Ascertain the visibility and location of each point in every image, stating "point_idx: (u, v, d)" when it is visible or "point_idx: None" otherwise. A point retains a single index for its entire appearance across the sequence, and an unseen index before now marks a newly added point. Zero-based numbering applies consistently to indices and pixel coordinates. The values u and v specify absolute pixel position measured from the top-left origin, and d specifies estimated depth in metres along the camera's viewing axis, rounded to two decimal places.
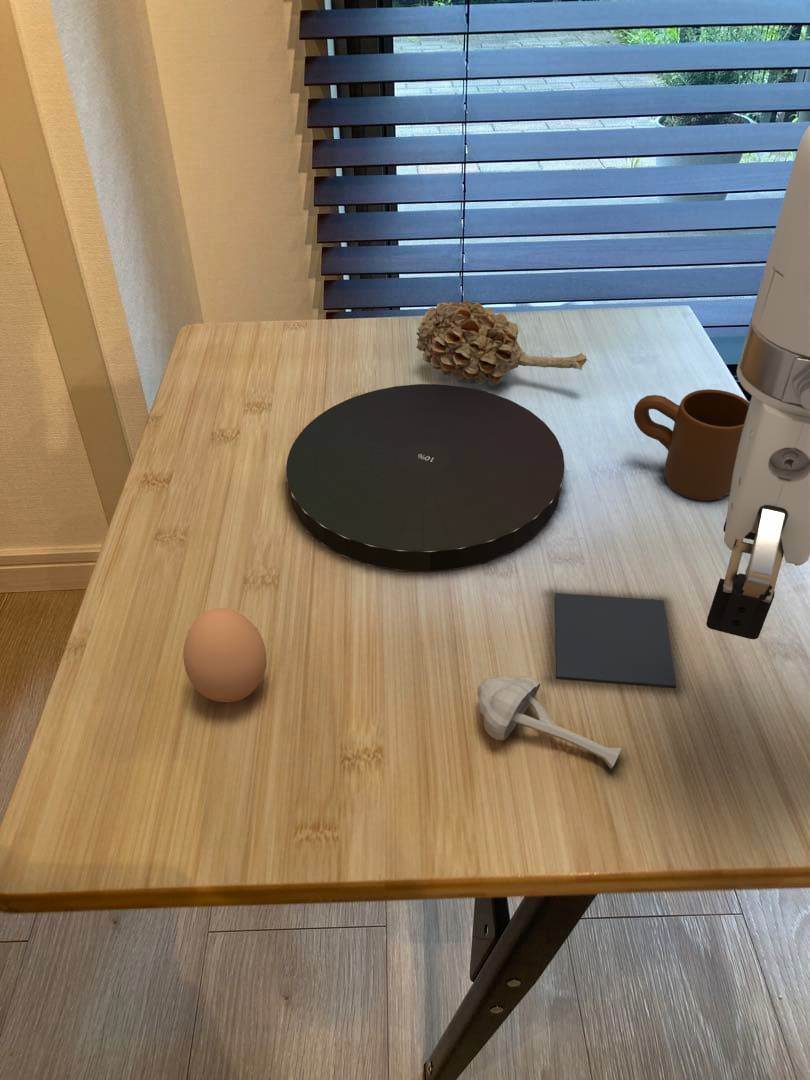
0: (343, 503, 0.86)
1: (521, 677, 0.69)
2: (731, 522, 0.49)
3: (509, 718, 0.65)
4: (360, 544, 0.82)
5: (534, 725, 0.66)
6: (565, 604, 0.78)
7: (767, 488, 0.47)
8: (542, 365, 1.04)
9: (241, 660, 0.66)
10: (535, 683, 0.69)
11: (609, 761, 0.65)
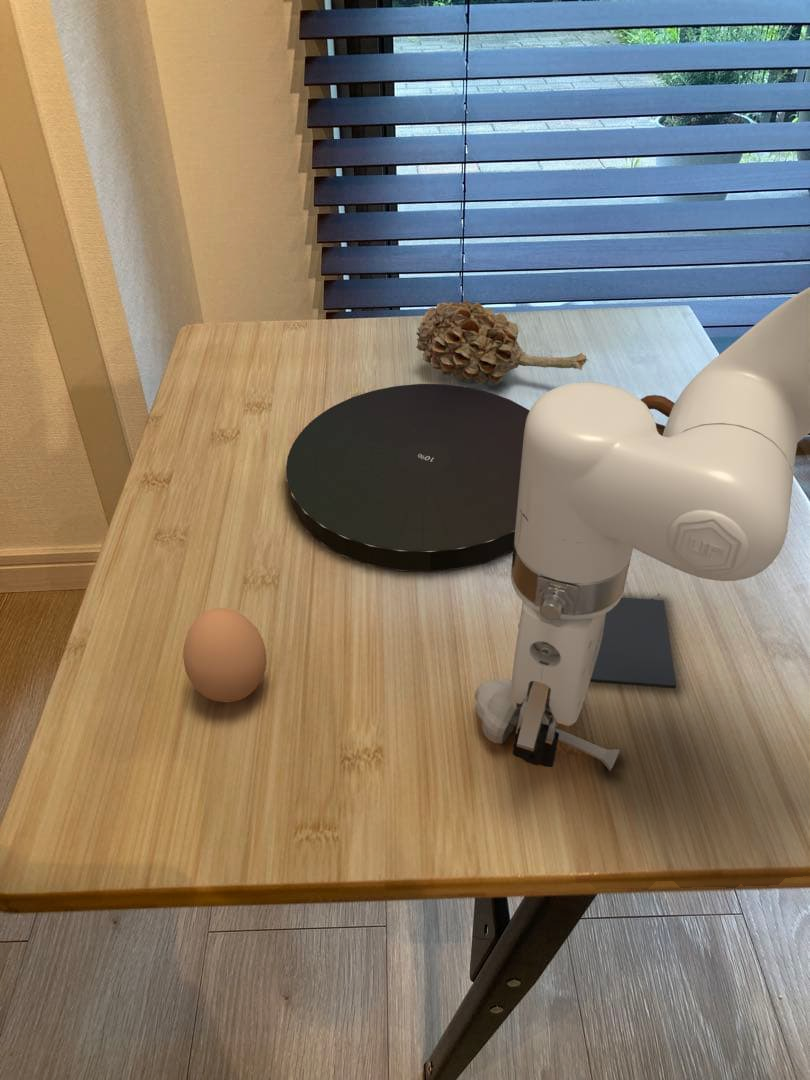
0: (343, 503, 0.86)
1: None
2: (512, 689, 0.59)
3: (507, 721, 0.65)
4: (360, 544, 0.82)
5: None
6: None
7: (532, 669, 0.56)
8: (542, 365, 1.04)
9: (241, 660, 0.66)
10: None
11: (608, 763, 0.65)
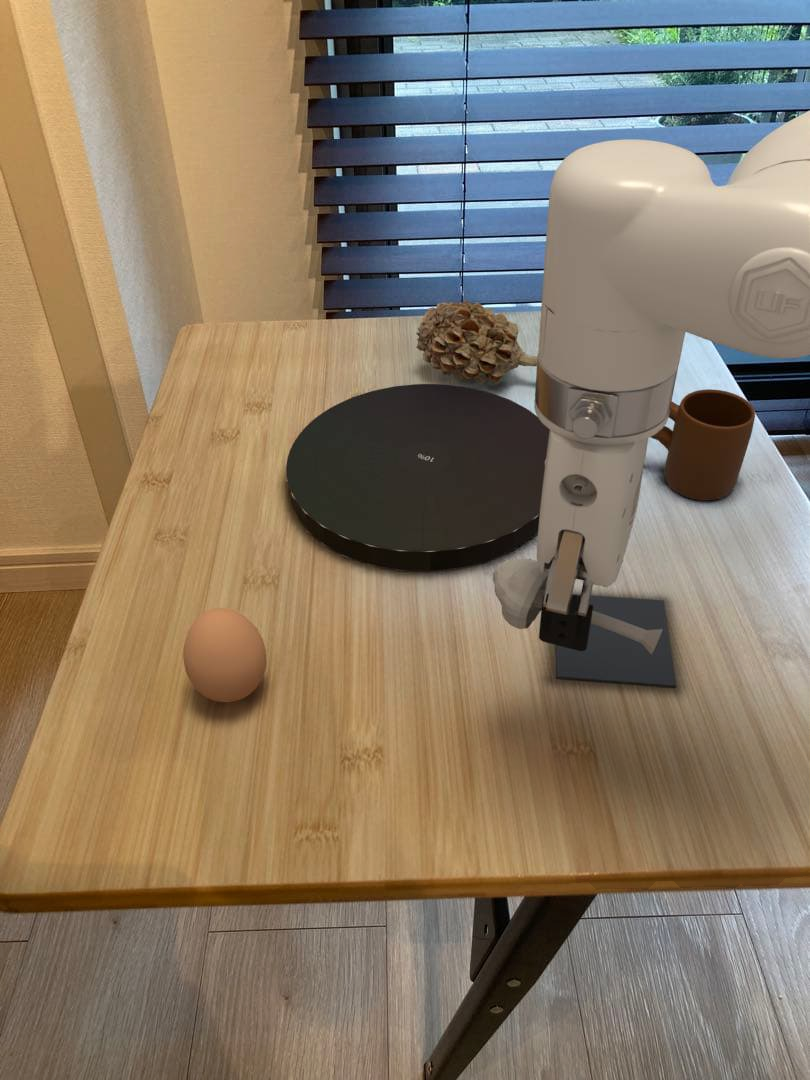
0: (343, 503, 0.86)
1: None
2: (538, 546, 0.50)
3: (532, 599, 0.56)
4: (360, 544, 0.82)
5: None
6: None
7: (562, 513, 0.48)
8: None
9: (241, 660, 0.66)
10: None
11: (649, 644, 0.56)
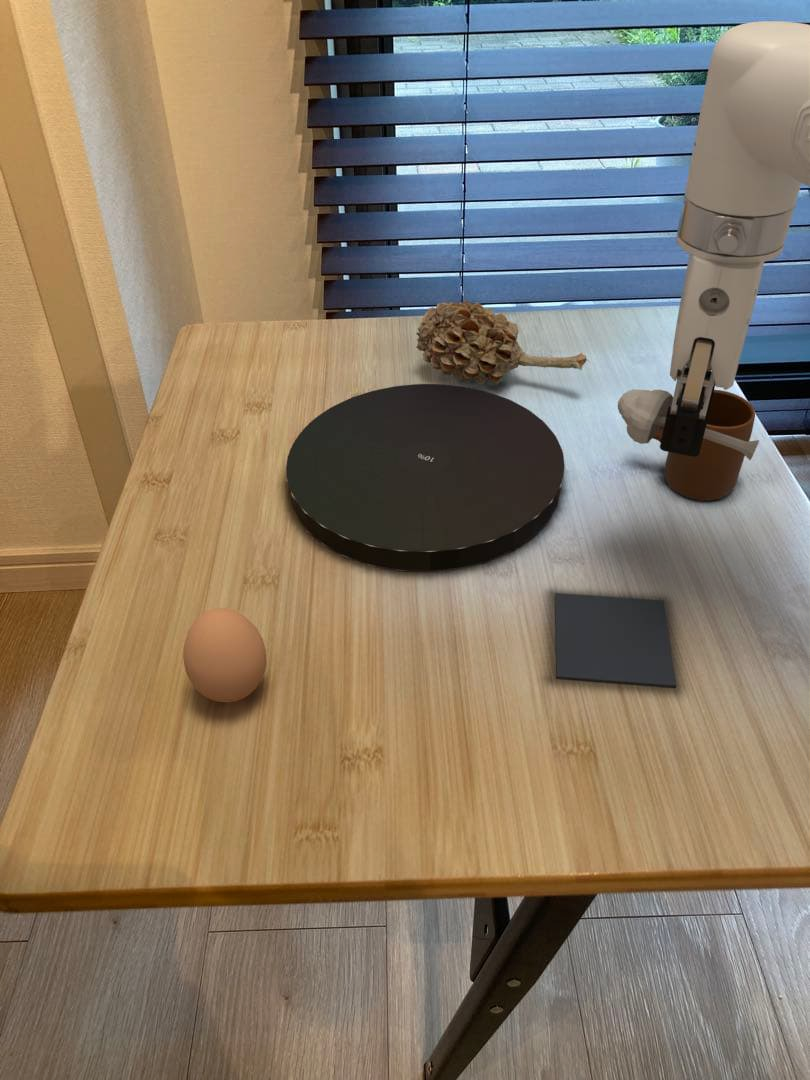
0: (343, 503, 0.86)
1: None
2: (674, 356, 0.64)
3: (655, 413, 0.70)
4: (360, 544, 0.82)
5: None
6: (565, 604, 0.78)
7: (698, 323, 0.62)
8: (542, 365, 1.04)
9: (241, 660, 0.66)
10: (671, 396, 0.74)
11: (749, 450, 0.70)
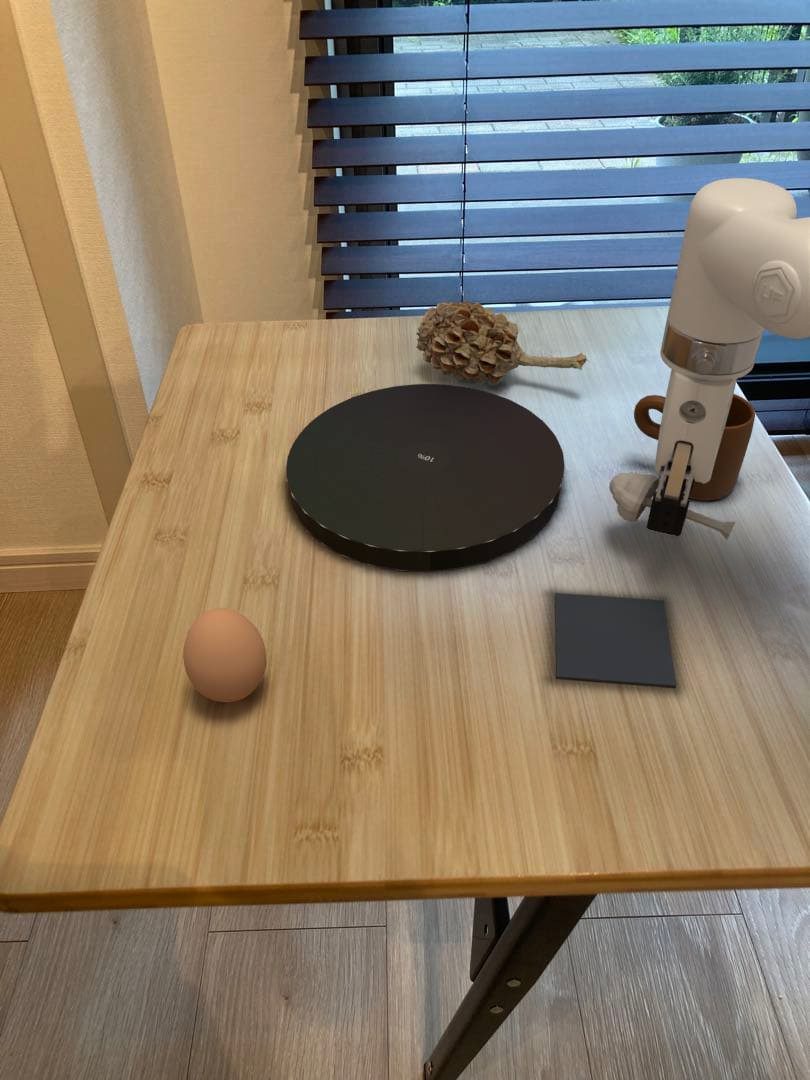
0: (343, 503, 0.86)
1: None
2: (658, 454, 0.72)
3: (642, 497, 0.78)
4: (360, 544, 0.82)
5: None
6: (565, 604, 0.78)
7: (679, 428, 0.70)
8: (542, 365, 1.04)
9: (241, 660, 0.66)
10: (657, 478, 0.82)
11: (726, 531, 0.78)
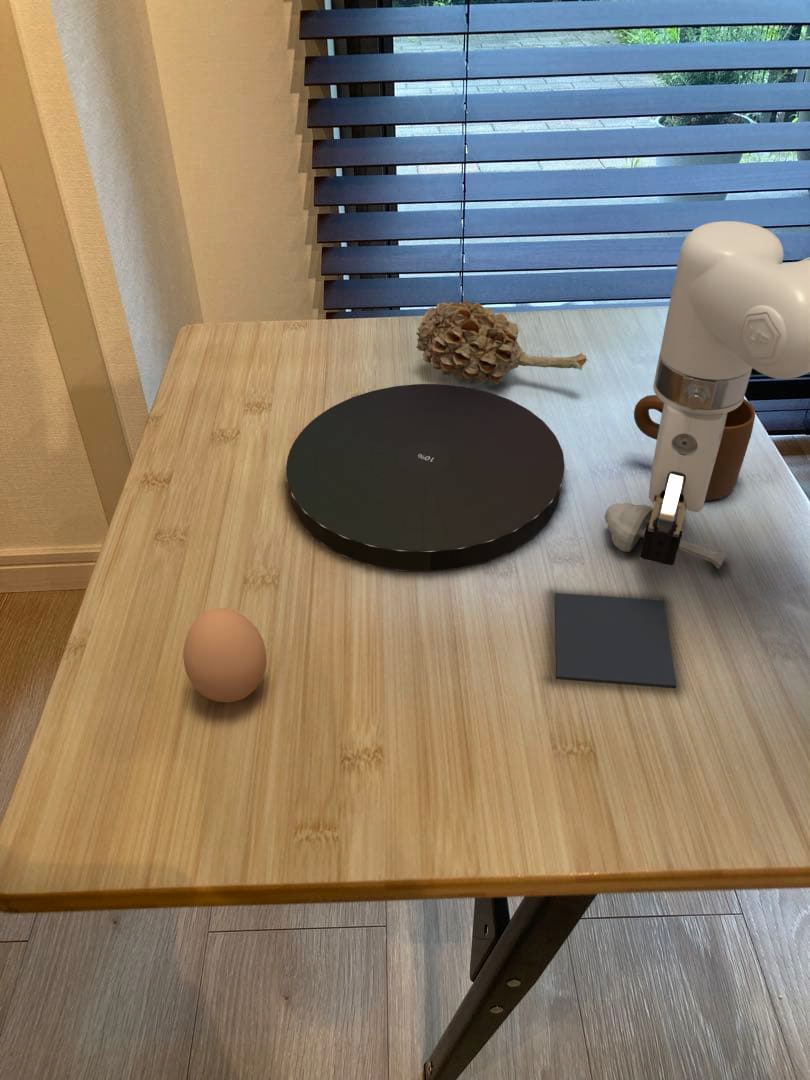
0: (343, 503, 0.86)
1: None
2: (651, 483, 0.75)
3: (637, 528, 0.81)
4: (360, 544, 0.82)
5: None
6: (565, 604, 0.78)
7: (672, 460, 0.72)
8: (542, 365, 1.04)
9: (241, 660, 0.66)
10: (651, 508, 0.85)
11: (717, 561, 0.81)
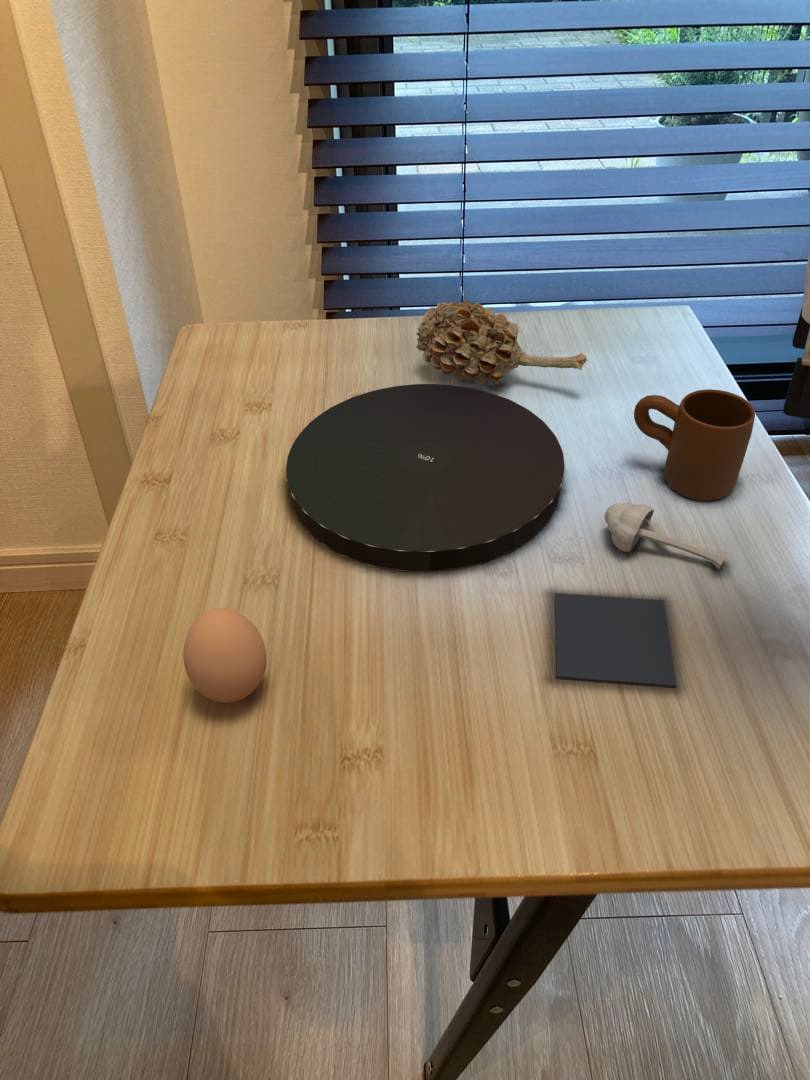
0: (343, 503, 0.86)
1: None
2: None
3: (637, 529, 0.81)
4: (360, 544, 0.82)
5: (655, 537, 0.82)
6: (565, 604, 0.78)
7: None
8: (542, 365, 1.04)
9: (241, 660, 0.66)
10: (651, 508, 0.85)
11: (717, 562, 0.81)
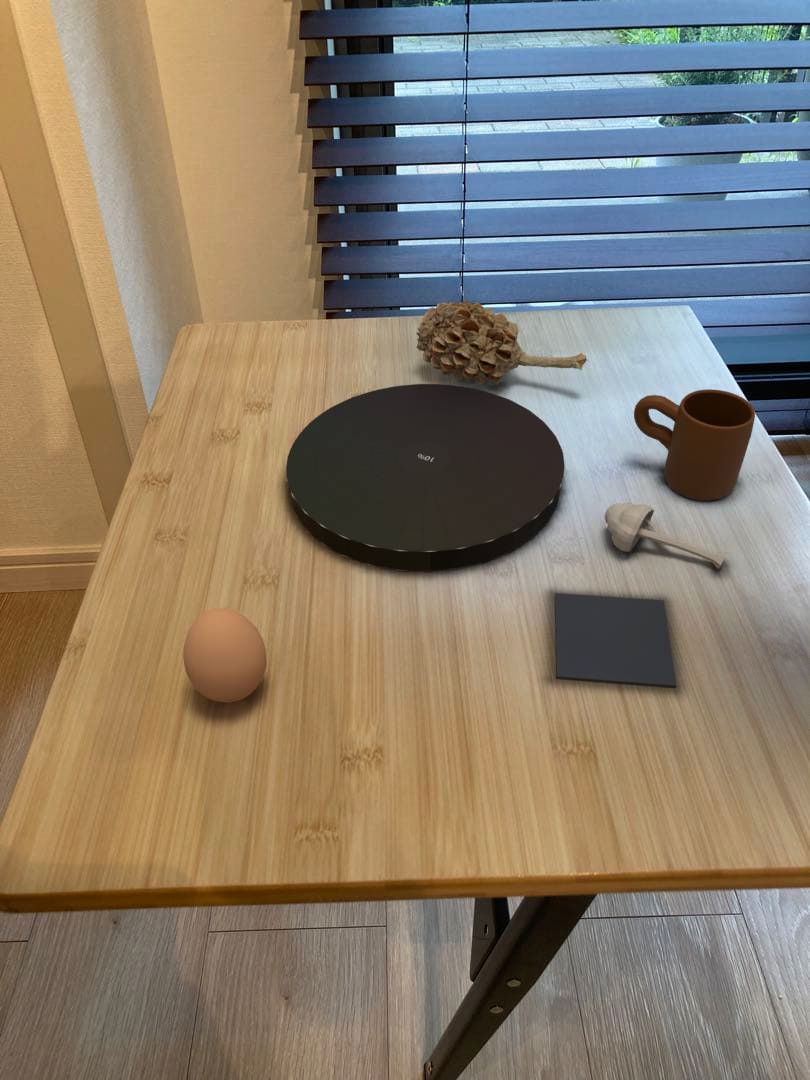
0: (343, 503, 0.86)
1: None
2: None
3: (637, 528, 0.81)
4: (360, 544, 0.82)
5: (655, 537, 0.82)
6: (565, 604, 0.78)
7: None
8: (542, 365, 1.04)
9: (241, 660, 0.66)
10: (651, 508, 0.85)
11: (717, 561, 0.81)
